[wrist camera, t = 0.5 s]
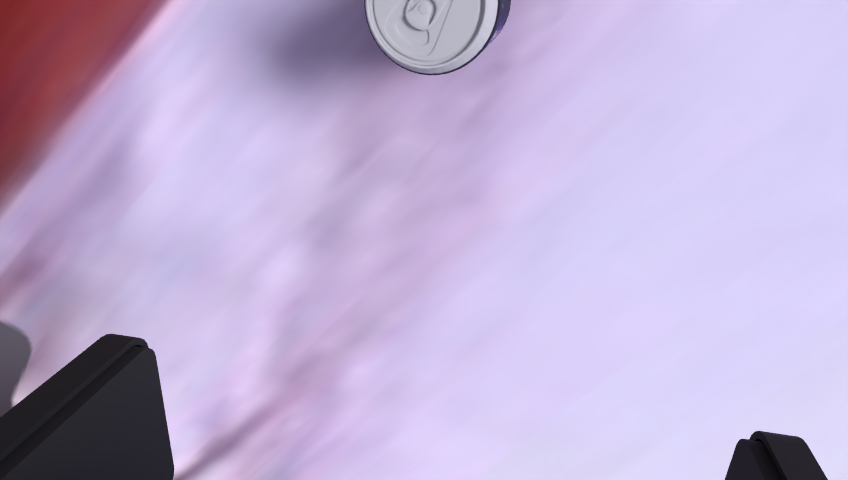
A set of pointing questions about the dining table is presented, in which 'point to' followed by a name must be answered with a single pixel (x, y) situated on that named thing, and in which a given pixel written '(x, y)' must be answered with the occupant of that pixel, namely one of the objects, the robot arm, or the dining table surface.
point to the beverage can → (435, 31)
